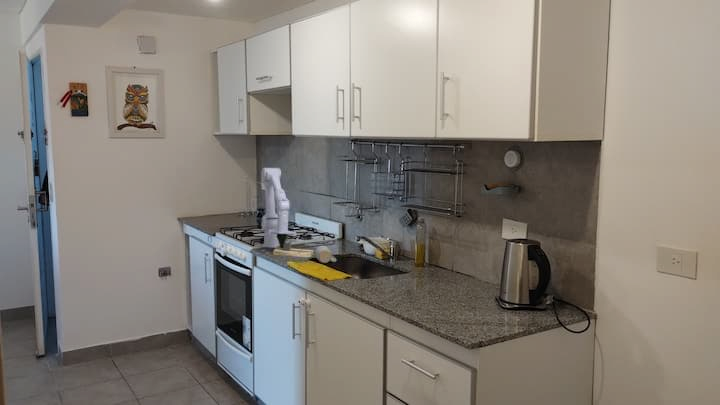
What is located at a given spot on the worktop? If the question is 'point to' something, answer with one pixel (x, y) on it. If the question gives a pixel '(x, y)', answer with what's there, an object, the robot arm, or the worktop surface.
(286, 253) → the fader console
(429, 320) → the worktop surface
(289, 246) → the fader knob
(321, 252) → the ceramic mug
